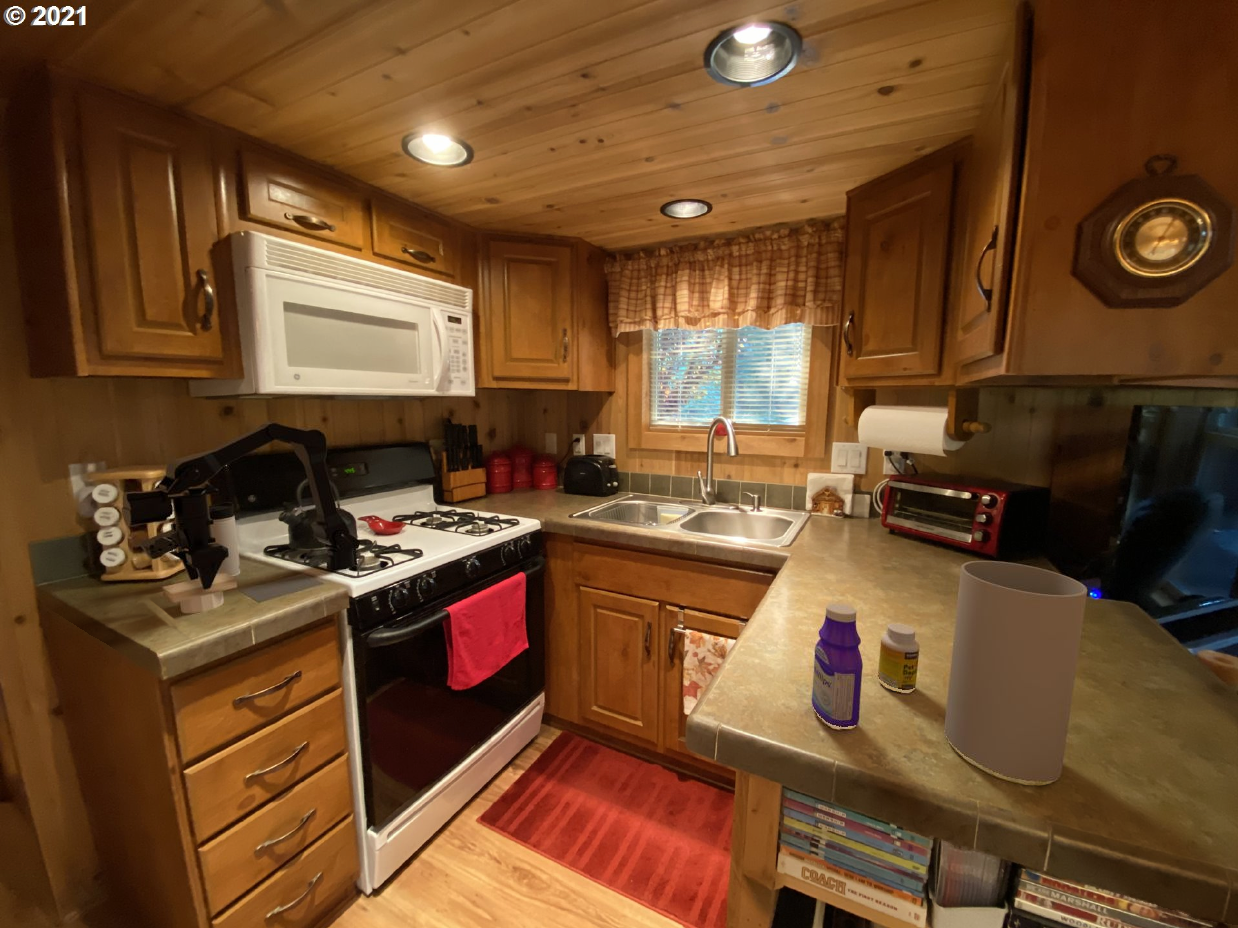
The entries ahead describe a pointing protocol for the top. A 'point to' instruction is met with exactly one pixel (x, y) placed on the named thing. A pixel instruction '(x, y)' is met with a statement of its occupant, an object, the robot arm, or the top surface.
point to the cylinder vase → (1014, 667)
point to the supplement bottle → (899, 657)
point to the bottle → (838, 667)
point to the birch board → (198, 588)
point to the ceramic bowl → (202, 603)
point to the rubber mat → (281, 587)
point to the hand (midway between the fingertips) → (200, 584)
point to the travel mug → (226, 536)
